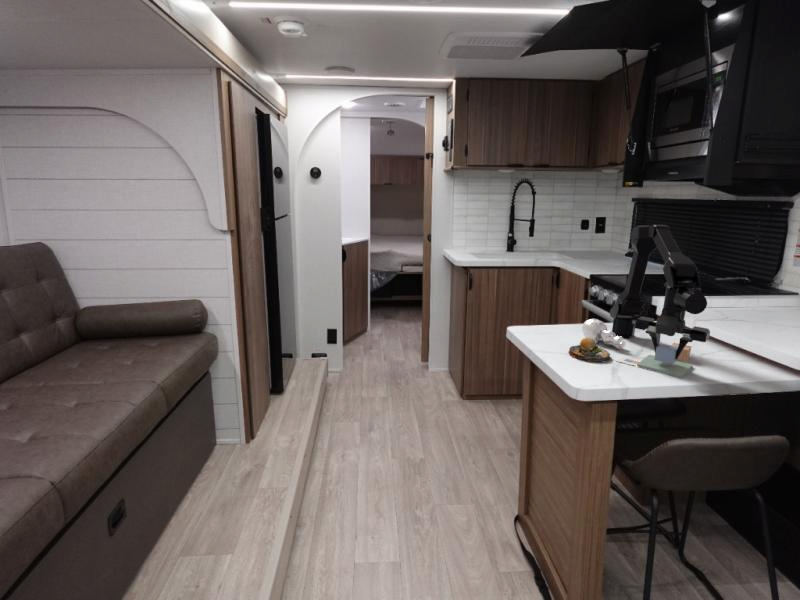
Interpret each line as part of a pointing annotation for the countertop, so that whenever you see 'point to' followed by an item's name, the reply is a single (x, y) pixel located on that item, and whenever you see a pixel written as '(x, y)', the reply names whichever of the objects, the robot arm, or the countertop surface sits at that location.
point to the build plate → (665, 366)
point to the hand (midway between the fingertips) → (666, 356)
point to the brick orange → (684, 353)
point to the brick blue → (666, 353)
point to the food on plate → (589, 351)
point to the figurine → (601, 333)
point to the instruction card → (629, 361)
